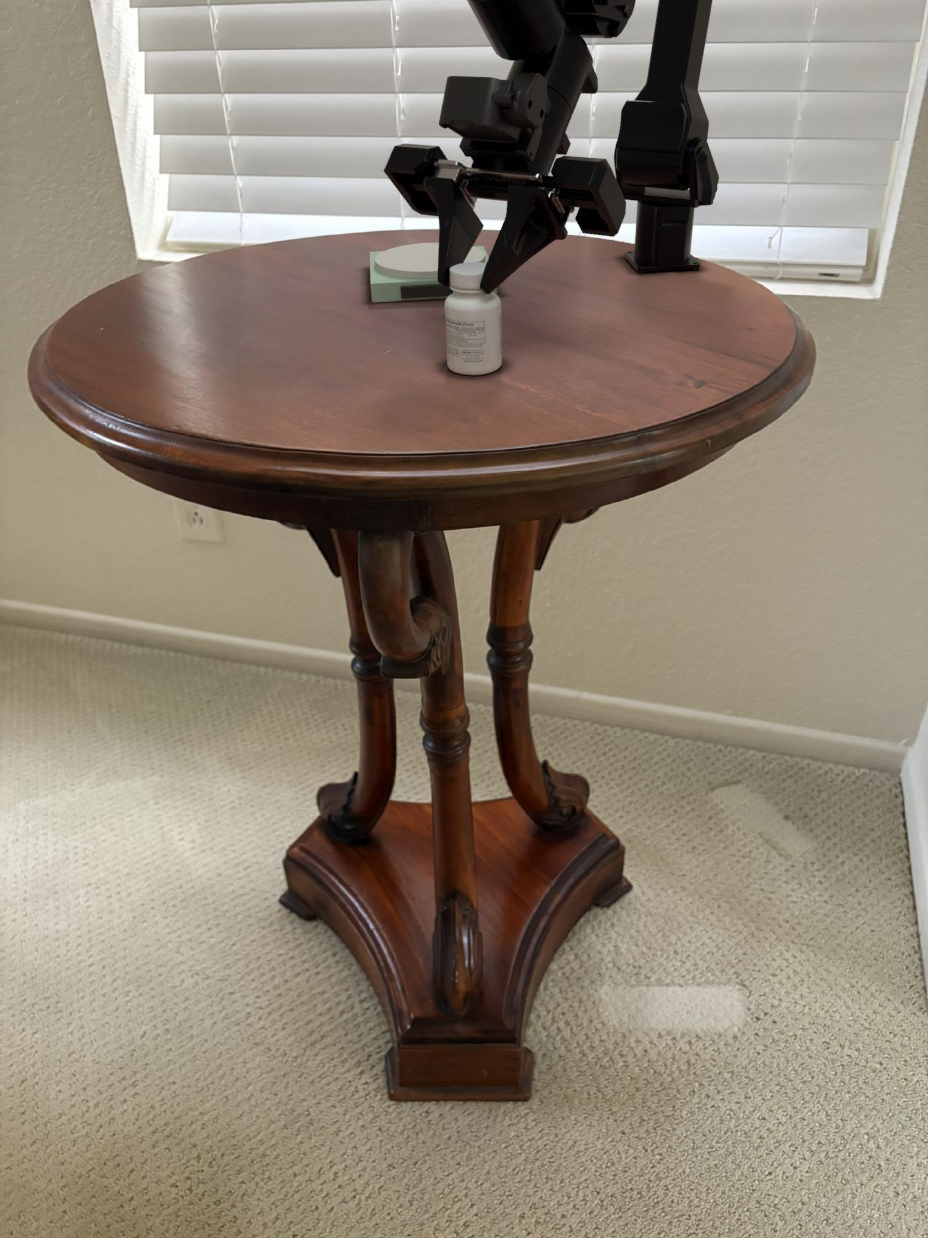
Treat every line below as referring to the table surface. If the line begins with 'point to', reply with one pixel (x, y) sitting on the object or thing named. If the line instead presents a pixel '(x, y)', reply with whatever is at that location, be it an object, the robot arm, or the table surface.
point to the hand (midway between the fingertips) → (462, 287)
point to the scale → (412, 272)
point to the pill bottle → (472, 323)
